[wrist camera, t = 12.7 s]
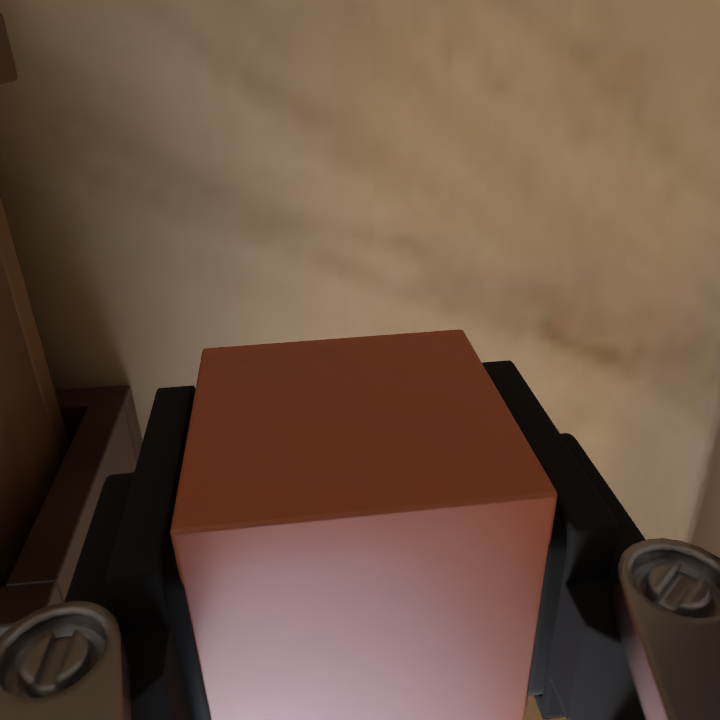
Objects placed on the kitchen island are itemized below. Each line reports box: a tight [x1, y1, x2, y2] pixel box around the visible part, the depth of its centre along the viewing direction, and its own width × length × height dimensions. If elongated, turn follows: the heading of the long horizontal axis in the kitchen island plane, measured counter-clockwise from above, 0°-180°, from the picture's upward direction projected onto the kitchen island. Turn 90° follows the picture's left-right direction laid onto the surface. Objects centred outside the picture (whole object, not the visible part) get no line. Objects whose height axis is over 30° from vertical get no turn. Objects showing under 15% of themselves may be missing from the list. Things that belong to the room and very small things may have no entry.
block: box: [170, 330, 557, 720], centre depth 10 cm, size 4×4×4 cm
